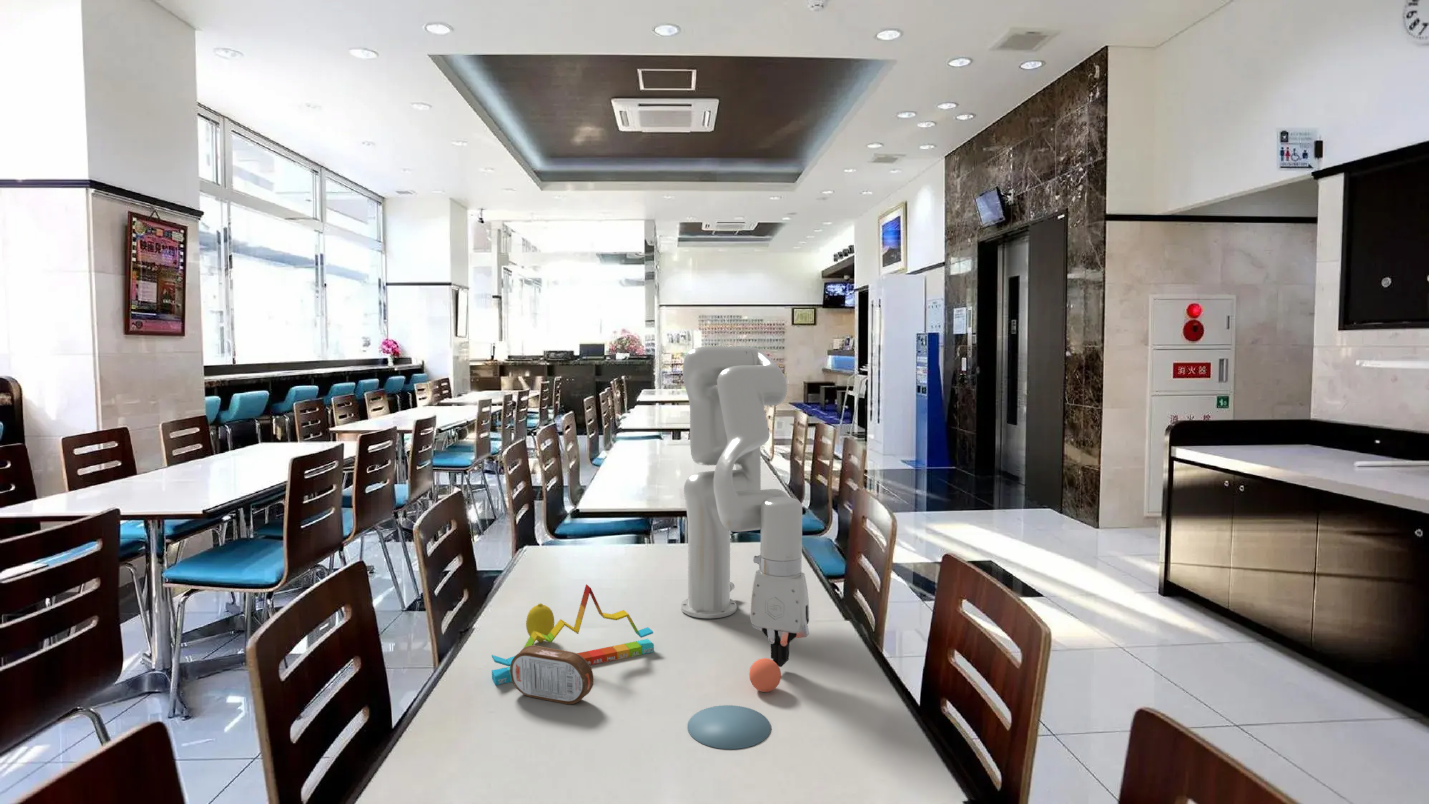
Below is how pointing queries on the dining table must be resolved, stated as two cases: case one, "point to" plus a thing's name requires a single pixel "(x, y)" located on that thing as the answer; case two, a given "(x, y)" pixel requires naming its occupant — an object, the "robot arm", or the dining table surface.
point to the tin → (551, 674)
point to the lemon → (540, 620)
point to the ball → (765, 675)
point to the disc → (729, 727)
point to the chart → (590, 656)
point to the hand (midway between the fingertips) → (779, 663)
